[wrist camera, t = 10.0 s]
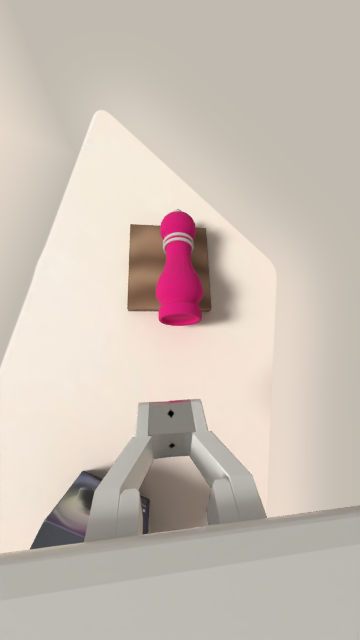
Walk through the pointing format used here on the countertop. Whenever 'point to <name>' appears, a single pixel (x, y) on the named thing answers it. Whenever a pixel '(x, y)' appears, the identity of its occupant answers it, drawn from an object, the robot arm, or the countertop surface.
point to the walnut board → (160, 267)
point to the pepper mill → (178, 272)
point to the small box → (75, 515)
